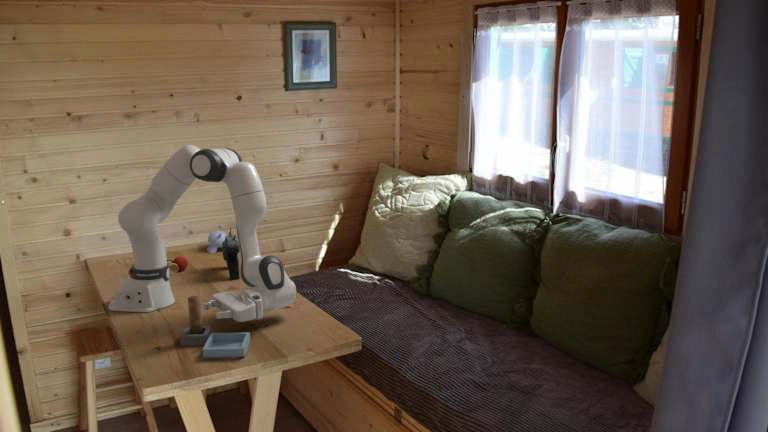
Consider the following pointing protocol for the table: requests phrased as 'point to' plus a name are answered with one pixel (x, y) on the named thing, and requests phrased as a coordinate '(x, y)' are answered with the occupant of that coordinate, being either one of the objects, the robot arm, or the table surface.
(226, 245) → the ceramic cat
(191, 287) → the table surface
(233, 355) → the tray
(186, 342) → the socket block
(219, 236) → the hippopotamus toy
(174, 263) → the kendama
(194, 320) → the dowel
